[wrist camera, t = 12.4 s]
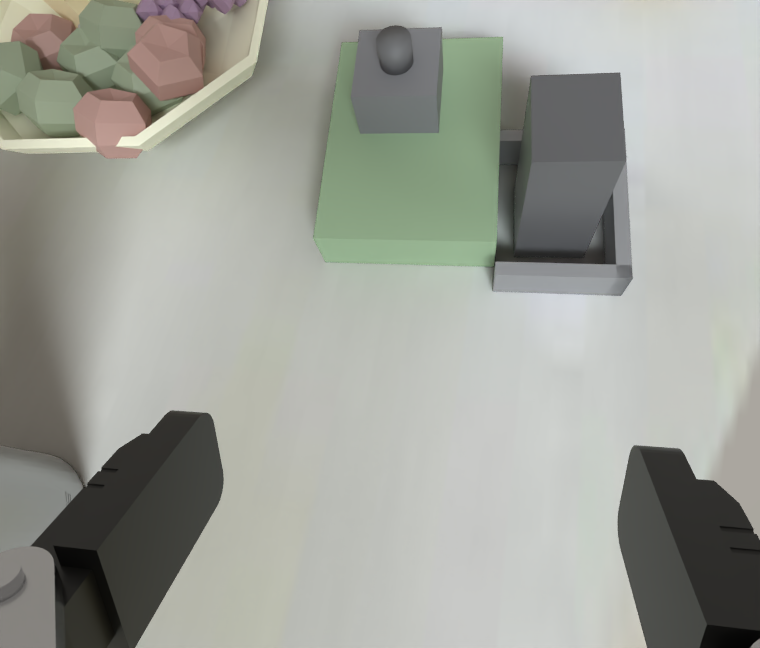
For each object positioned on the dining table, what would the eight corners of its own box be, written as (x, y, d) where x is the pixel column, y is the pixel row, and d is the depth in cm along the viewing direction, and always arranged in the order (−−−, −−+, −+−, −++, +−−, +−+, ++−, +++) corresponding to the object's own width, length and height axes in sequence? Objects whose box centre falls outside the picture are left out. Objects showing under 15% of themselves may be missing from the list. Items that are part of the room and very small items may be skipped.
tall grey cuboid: (514, 257, 43) (531, 162, 32) (514, 187, 45) (531, 75, 34) (583, 257, 42) (626, 161, 31) (580, 187, 44) (620, 72, 33)
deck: (322, 285, 45) (285, 221, 35) (350, 78, 51) (325, -23, 42) (620, 295, 41) (667, 227, 32) (610, 71, 47) (647, -41, 38)
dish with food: (157, -65, 61) (72, -230, 48) (360, 37, 52) (325, -128, 39) (-39, 120, 56) (-195, -6, 43) (151, 268, 47) (30, 167, 34)
